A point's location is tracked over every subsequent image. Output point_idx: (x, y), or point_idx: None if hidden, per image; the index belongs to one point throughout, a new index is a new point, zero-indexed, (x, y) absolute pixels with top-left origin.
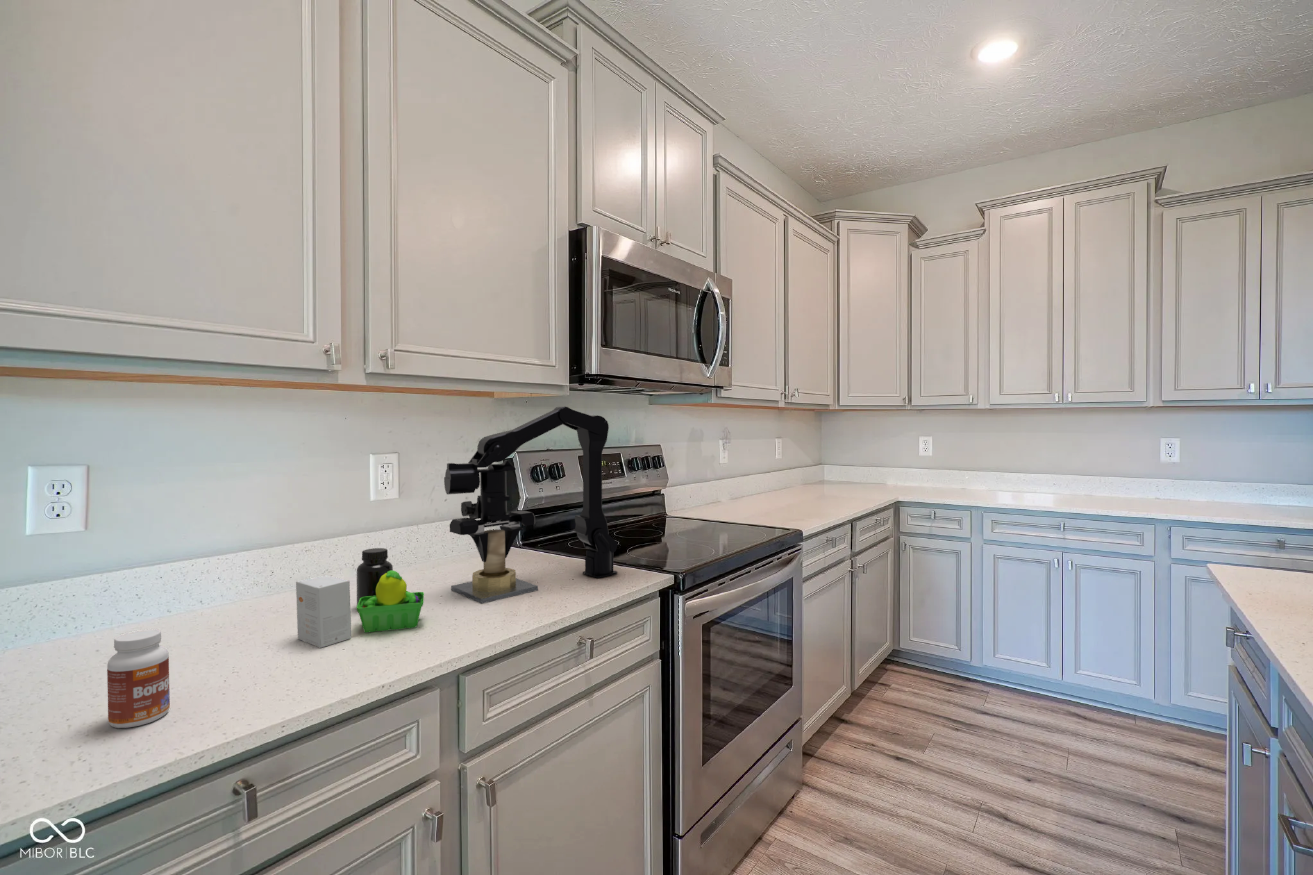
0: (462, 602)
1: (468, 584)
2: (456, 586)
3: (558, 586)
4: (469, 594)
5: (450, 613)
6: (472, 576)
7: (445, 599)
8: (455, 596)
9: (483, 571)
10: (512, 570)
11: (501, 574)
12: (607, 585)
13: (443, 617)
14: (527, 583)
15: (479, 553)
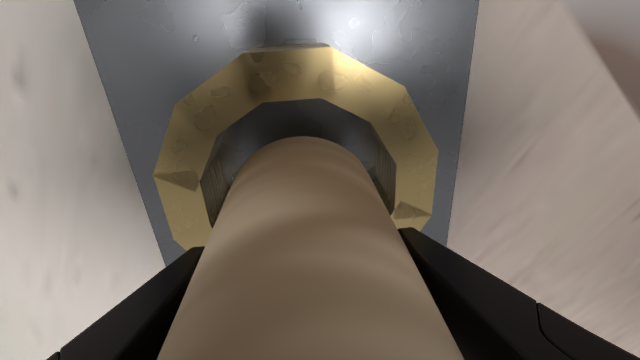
0: (115, 233)
1: (184, 38)
2: (102, 33)
3: (522, 260)
4: (149, 209)
5: (52, 317)
6: (155, 171)
7: (41, 149)
8: (96, 132)
9: (262, 101)
10: (414, 213)
11: (374, 131)
12: (622, 333)
13: (25, 338)
14: (438, 220)
15: (137, 297)
